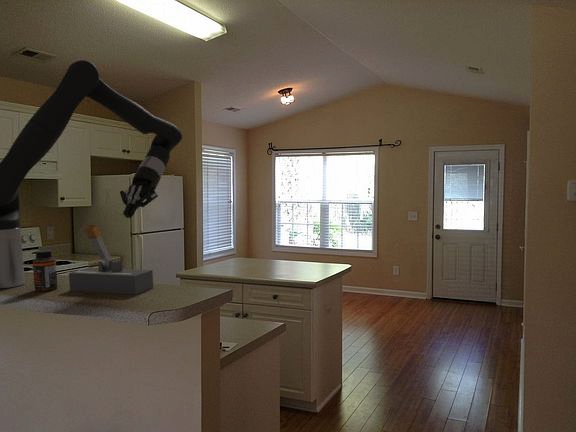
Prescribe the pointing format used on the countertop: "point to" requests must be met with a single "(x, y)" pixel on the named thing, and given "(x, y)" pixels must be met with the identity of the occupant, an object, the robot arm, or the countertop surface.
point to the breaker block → (111, 279)
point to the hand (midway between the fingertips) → (127, 216)
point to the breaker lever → (99, 245)
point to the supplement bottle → (44, 271)
